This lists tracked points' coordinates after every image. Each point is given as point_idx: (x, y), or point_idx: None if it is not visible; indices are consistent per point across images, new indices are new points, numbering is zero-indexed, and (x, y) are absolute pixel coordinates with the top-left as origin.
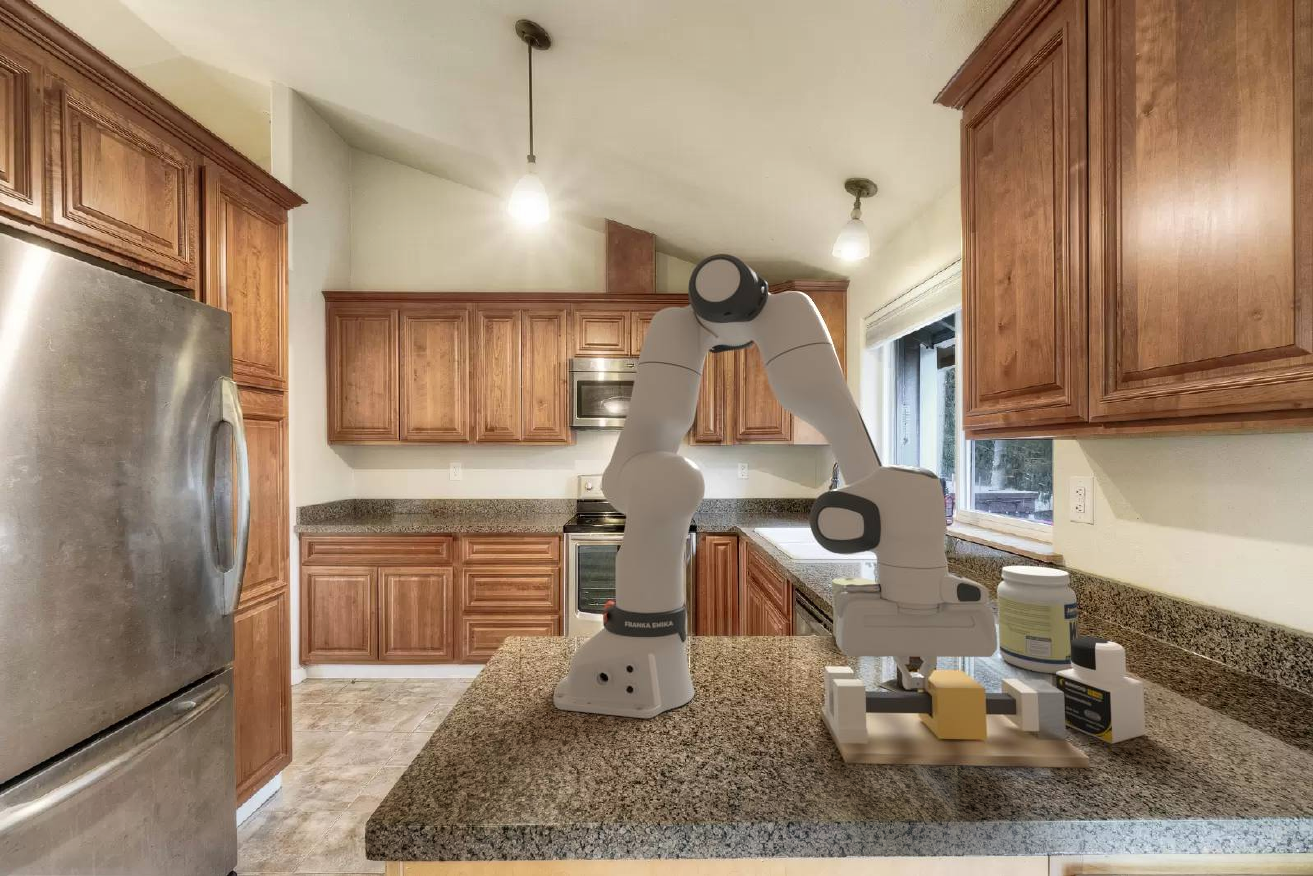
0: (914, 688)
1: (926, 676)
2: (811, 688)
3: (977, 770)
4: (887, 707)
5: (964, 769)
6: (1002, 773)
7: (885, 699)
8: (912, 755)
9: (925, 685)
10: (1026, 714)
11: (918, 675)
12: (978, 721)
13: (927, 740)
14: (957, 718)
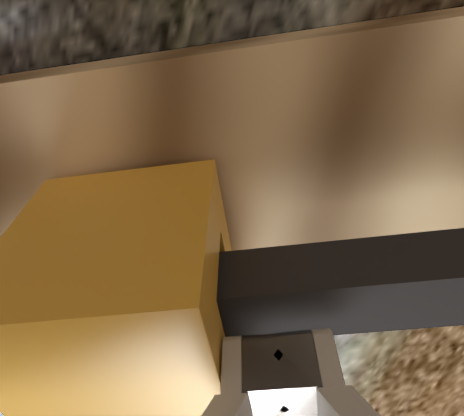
0: (295, 333)
1: (232, 396)
2: (452, 406)
3: (111, 23)
4: (409, 250)
5: (157, 22)
6: (25, 16)
7: (432, 273)
8: (351, 32)
9: (239, 351)
10: None
11: (270, 404)
12: (46, 213)
13: (253, 157)
14: (127, 211)
